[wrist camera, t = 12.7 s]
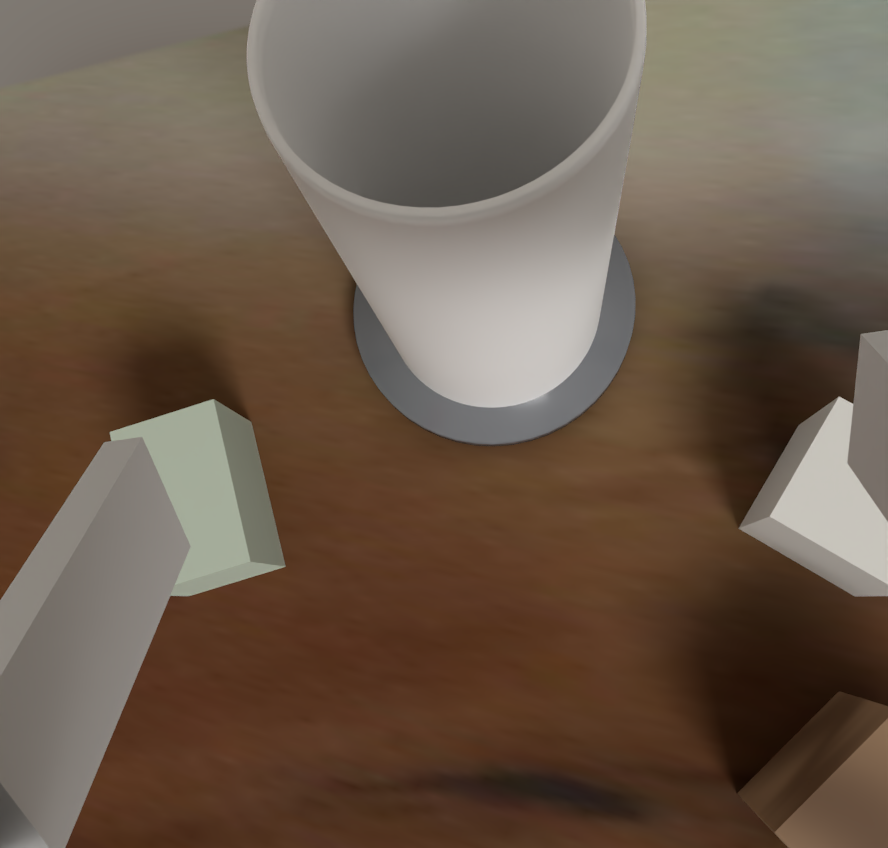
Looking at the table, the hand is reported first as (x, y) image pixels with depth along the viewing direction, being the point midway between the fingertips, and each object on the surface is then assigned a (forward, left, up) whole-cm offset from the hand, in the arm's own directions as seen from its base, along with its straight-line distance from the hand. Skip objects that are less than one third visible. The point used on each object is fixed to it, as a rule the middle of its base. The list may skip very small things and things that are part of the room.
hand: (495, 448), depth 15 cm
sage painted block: (+11, -5, -16) cm, 20 cm away
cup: (-2, -8, -15) cm, 18 cm away
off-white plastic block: (-10, +4, -16) cm, 20 cm away
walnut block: (-6, +13, -16) cm, 22 cm away
